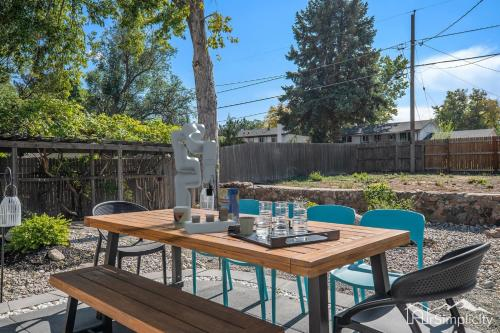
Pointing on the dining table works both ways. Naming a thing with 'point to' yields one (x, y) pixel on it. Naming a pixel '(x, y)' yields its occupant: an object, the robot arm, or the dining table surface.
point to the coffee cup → (180, 216)
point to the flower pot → (246, 225)
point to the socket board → (208, 226)
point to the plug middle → (210, 218)
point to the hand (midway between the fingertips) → (209, 195)
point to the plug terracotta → (223, 213)
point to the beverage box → (230, 202)
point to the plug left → (195, 219)
